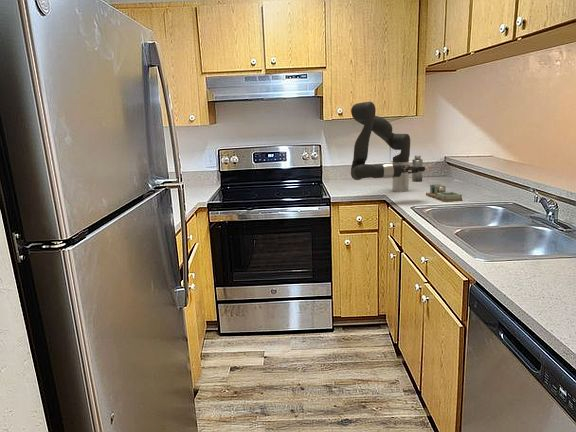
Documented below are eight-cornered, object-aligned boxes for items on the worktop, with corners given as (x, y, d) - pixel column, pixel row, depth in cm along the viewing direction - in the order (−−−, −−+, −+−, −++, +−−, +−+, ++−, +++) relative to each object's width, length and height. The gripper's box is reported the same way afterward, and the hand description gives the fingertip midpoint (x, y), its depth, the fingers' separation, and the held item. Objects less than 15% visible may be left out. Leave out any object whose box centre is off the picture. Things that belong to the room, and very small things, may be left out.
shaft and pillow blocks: (430, 192, 248) (430, 183, 247) (438, 191, 248) (438, 183, 247) (437, 195, 239) (437, 186, 238) (446, 194, 240) (446, 185, 239)
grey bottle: (410, 180, 233) (411, 155, 230) (419, 180, 234) (420, 155, 231) (414, 182, 228) (414, 156, 225) (423, 181, 229) (424, 155, 226)
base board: (425, 195, 248) (425, 192, 247) (443, 193, 249) (443, 191, 248) (443, 201, 227) (443, 199, 227) (462, 200, 228) (462, 198, 228)
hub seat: (436, 196, 236) (436, 193, 235) (452, 195, 237) (453, 191, 236) (444, 199, 227) (444, 195, 227) (461, 198, 228) (461, 194, 228)
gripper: (395, 164, 220) (428, 162, 222) (385, 161, 234) (416, 159, 236) (395, 179, 222) (428, 177, 224) (385, 175, 236) (416, 173, 238)
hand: (422, 168), depth 230 cm, fingers closed on grey bottle, 5 cm apart
